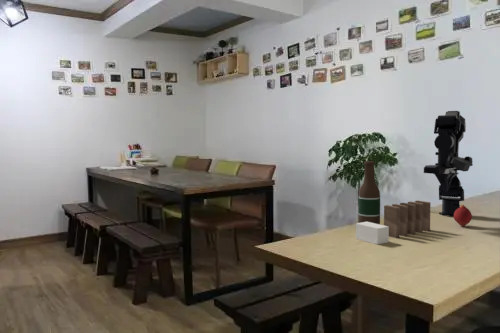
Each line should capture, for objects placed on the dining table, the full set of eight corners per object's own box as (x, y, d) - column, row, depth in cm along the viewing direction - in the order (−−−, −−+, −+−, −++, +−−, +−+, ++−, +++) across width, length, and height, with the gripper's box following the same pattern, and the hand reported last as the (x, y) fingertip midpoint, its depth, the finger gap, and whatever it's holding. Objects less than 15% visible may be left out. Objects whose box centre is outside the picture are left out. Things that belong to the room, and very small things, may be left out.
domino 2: (395, 232, 143) (395, 203, 142) (407, 235, 139) (407, 205, 138) (391, 233, 142) (392, 204, 141) (404, 236, 138) (404, 206, 137)
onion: (467, 224, 153) (468, 203, 153) (474, 228, 147) (475, 205, 147) (451, 224, 154) (451, 203, 153) (457, 228, 148) (457, 205, 147)
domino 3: (402, 231, 145) (403, 202, 144) (415, 234, 141) (415, 204, 140) (399, 231, 144) (400, 203, 143) (412, 234, 140) (412, 205, 139)
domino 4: (410, 229, 147) (410, 201, 146) (422, 232, 143) (423, 203, 142) (407, 230, 146) (407, 202, 145) (419, 233, 142) (420, 203, 141)
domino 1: (387, 234, 141) (387, 205, 140) (399, 237, 137) (399, 207, 136) (383, 235, 140) (384, 205, 139) (396, 238, 136) (396, 207, 135)
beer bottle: (355, 227, 151) (356, 161, 149) (360, 223, 158) (361, 160, 156) (377, 229, 148) (378, 162, 146) (382, 225, 154) (382, 160, 152)
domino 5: (417, 228, 149) (417, 200, 148) (430, 230, 145) (430, 202, 144) (414, 228, 148) (415, 200, 147) (427, 231, 144) (427, 202, 143)
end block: (366, 236, 138) (366, 221, 138) (388, 242, 131) (388, 226, 130) (355, 238, 136) (355, 223, 136) (377, 244, 128) (377, 228, 128)
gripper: (451, 151, 142) (450, 196, 143) (482, 149, 151) (481, 191, 153) (423, 150, 151) (422, 192, 152) (453, 148, 161) (452, 188, 162)
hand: (445, 191), depth 155 cm, fingers closed
